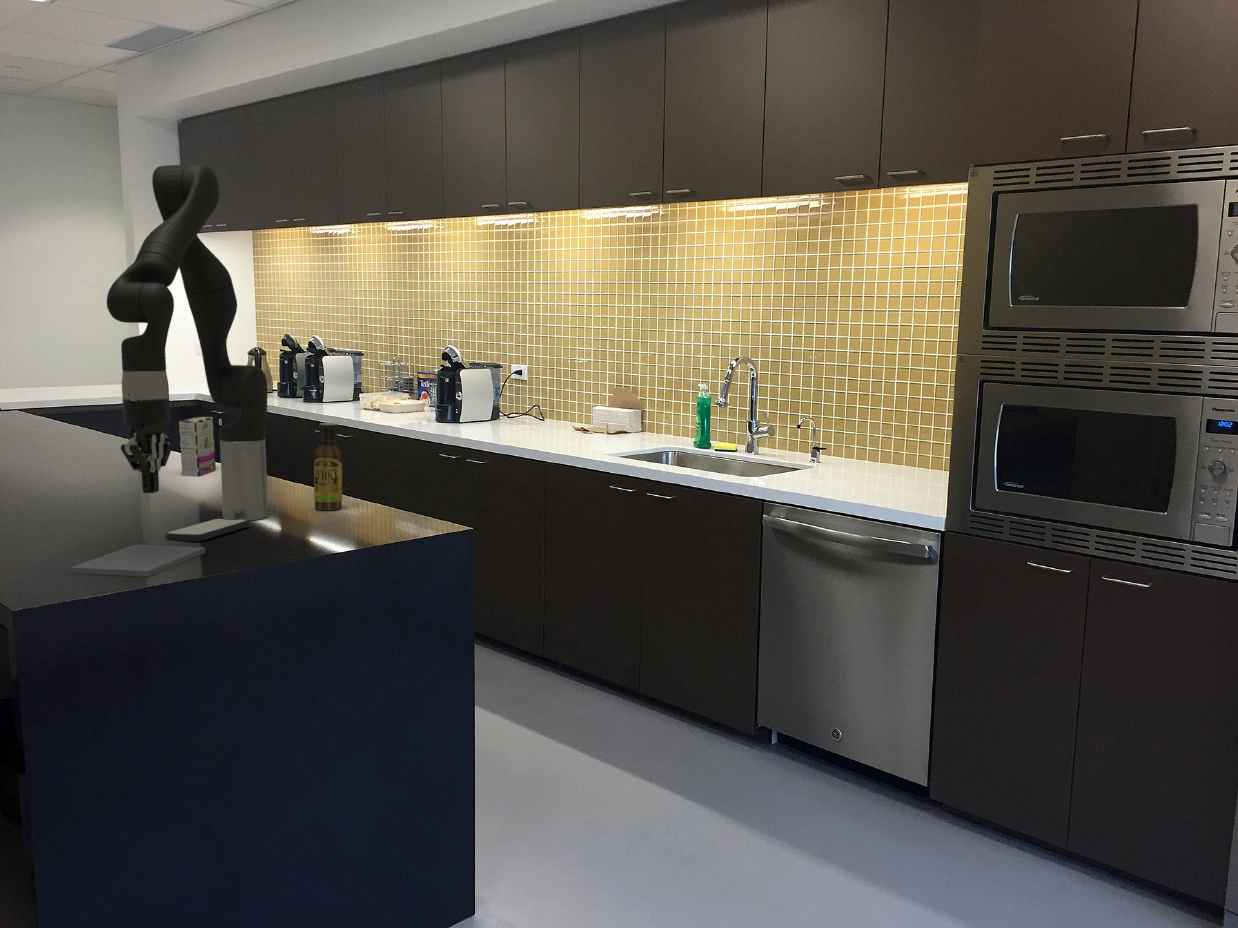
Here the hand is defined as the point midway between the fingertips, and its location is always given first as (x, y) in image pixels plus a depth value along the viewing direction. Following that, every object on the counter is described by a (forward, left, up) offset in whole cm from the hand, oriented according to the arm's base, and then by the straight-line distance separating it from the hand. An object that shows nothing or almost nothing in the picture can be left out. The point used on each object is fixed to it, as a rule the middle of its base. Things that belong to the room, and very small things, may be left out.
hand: (151, 492), depth 177 cm
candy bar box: (-87, -42, -12) cm, 97 cm away
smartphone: (-13, -3, -11) cm, 17 cm away
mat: (+4, 0, -12) cm, 13 cm away
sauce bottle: (-51, +11, -12) cm, 54 cm away
